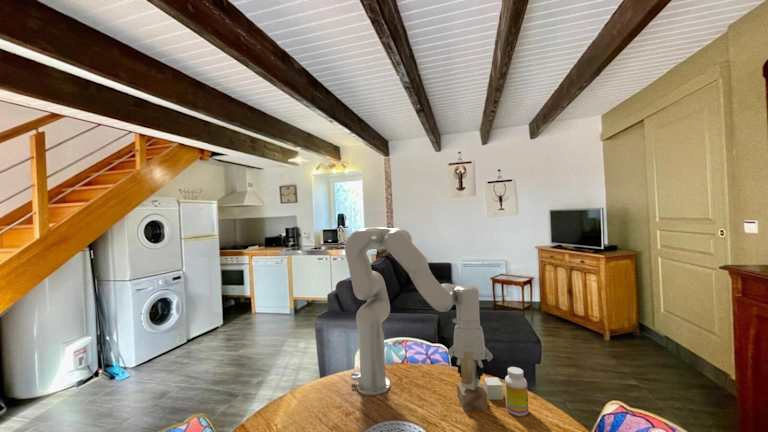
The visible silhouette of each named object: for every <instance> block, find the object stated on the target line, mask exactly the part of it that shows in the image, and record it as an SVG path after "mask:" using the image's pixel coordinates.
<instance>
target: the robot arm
mask: <svg viewBox="0 0 768 432" xmlns="http://www.w3.org/2000/svg"><path fill="white" fill-rule="evenodd" d="M374 249H382V250H386V251H388V252H389V254H390V255H392V257H393V258H394V259H395V260H396V261H397V263H399V265H401V266H402V268H403V269H404V270H405V271H406V273H407V274H408V276H409V277H410V279H411V282H412V283H413V285H414V286H415V289H416V290H417V291H418V292H419V294H420V295H421V297H422V298H423V299H424V300H425V301H426V302H427V303H428V304H429V305H430V306H431V307H432V308H433V309H435V310H436V312H437V311H438V312H441V313H444V312H448V311H449V310H451V309H452V307H453V306H454V305H455V306H456V317H455V318H452V323H455V324H456V325H455V326H454V331H453V345H451V347H449V349H448V350H447V352H446V353H447V355H448V356H449V357H450V358H451V359H452V360H453V361H454V362H455V363H456V365H457V374H459V378H461V358H464V353H465V352H468V353H473V359H474V360H477V361H478V379H479V380H481V379H482V378H481V377H483V375H484V373H483V372H484V369H483V368H484V366H486V364H488V362H490V361H492V360H493V358H494V357H493V354H492V353H491V352H490V351H489V349H488V348H487V347H486V346H485V335H484V330H483V327H482V326H481V321H480V319H481V318H480V296H479V295H480V293H479V289H478V287H476V286H474V285H468V284H467V285H466V284H465V285H464V284H463V285H457V284H452V283H440V282H439V281H438V280H437V278H436V277H435V275H434V274H433V273H432V271H431V269H430V266H429V262H428V260H427V259H428V258H427V257H426V256H425V255H424V254H423V253H422V251H420V250H419V248H418V247H417V246H416V245H415V244H414V243H413V239H412V236H411V234H410V232H409V231H408V230H406V229H403V228H388V227H375V226H374V227H363V228H359V229H357V230H355V231H354V232H352V233H351V234H350V235H349V236H348V238H347V240H346V242H345V246H344V252H345V257H346V261H347V262H346V263H347V265H348V271H349V276H350V280H351V281H350V282H351V286H352V289H353V290H352V291H353V294H354V295H355V297H356V298H357V299H359V300H360V301H366V303H364V304H362V305H361V306H360V308H359V309H358V310H357V312H356V316H355V322H356V327H357V333H358V347H359V348H358V349H359V350H358V351H359V372H357V371H352V372H351V374H350V377H351V380H352V381H357V382H356V390H357V391H358V392H359V393H360V394H362V395H365V396H372V397H373V396H379V395H382V394H384V393H386V392H387V391H388V390H389V389H390V388H391V387H390V386H391V382H390V380H389V379H388V378H387V376H386V359H385V358H386V357H385V353H386V352H385V335H384V331H383V328H382V327H383V326H382V324H383V322H384V321H386V319H387V318H388V317H389V315H390V313H391V304H390V299H389V295H388V290H387V286H386V282H385V279H384V277H383V275H382V274H381V273H380V272H378V271H375V270H372V264H371V261H370V260H371V259H370V258H369V256H368V253H367V252H369V251H370V250H374ZM463 352H464V353H463Z"/></svg>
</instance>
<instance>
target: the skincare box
mask: <svg viewBox="0 0 768 432" xmlns="http://www.w3.org/2000/svg"><path fill="white" fill-rule="evenodd" d="M463 353H464V352H463ZM460 378H461V382H462V387H464V388H468V389H471V390H475V388H476V387H477V385H478V384H479V382H480V383H481V381H480V380H479V379H478V361H477V360H474V359H473V353H468V352H465V353H464V358H461V377H460Z"/></svg>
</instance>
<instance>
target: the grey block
mask: <svg viewBox="0 0 768 432" xmlns="http://www.w3.org/2000/svg"><path fill="white" fill-rule="evenodd" d="M483 388H484V390H485V391H486V393H487V401H488V400H492V401H493V400H504V389H503V383H502V382H501V380H500V378H499V377H498V376H497V377H494V376H493V377H483Z"/></svg>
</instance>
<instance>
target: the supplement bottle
mask: <svg viewBox="0 0 768 432" xmlns="http://www.w3.org/2000/svg"><path fill="white" fill-rule="evenodd" d="M504 388H505V390H504V391H505V393H504V394H505V408H506V410H507V411H508V413H510V414H512V415H514V416H517V417H524V416H526V415H528V413H529V397H528V396H529V391H528V382H527V379H526V378H525V377H524V370H523V369H521V368H520V367H518V366H517V367H516V366H509V367H508V368H507V375H506V376H505V378H504Z"/></svg>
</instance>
